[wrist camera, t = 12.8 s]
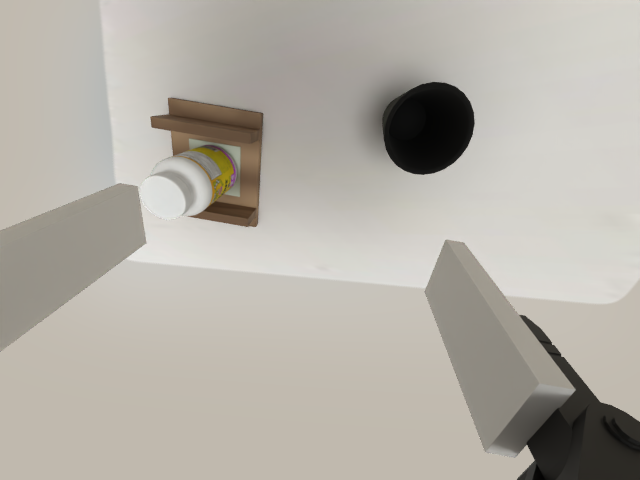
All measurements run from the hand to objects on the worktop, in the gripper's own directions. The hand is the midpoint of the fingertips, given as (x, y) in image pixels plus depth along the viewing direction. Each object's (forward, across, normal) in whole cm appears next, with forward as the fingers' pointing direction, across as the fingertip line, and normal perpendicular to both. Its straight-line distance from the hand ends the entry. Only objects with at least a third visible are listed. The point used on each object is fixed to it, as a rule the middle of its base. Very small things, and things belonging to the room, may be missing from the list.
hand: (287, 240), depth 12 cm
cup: (+29, +9, +4) cm, 31 cm away
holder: (+29, -15, -6) cm, 33 cm away
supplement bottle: (+28, -15, -6) cm, 32 cm away
